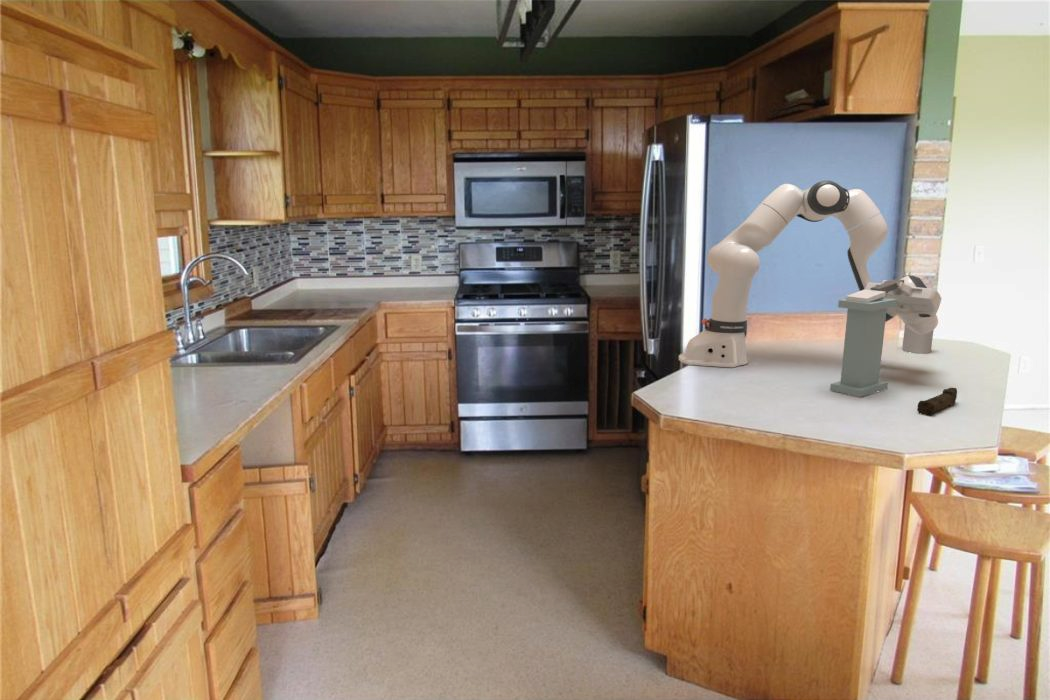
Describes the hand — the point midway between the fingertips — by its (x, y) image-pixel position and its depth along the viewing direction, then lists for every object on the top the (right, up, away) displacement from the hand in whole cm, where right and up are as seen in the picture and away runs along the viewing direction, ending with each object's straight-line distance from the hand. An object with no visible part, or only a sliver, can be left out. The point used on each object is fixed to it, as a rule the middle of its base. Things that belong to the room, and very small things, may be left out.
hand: (891, 283), depth 210 cm
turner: (-6, -3, -4) cm, 7 cm away
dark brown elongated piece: (+3, -35, -19) cm, 40 cm away
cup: (+35, -20, +52) cm, 66 cm away
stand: (-10, -31, -1) cm, 32 cm away
